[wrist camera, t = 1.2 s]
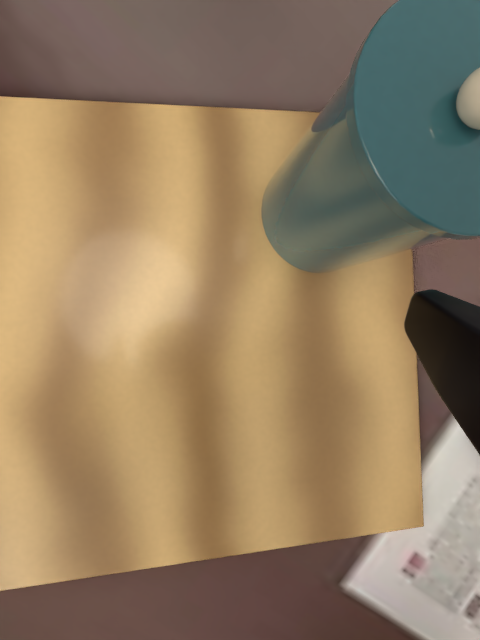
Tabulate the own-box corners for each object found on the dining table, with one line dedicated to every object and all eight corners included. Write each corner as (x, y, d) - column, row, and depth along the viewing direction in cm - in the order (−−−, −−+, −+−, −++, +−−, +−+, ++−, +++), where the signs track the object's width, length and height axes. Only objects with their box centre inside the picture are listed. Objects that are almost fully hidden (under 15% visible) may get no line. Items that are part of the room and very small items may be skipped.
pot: (398, 198, 24) (672, 55, 11) (338, 302, 23) (555, 279, 10) (298, 124, 23) (473, -130, 10) (232, 231, 22) (327, 108, 9)
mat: (401, 121, 24) (407, 116, 24) (418, 521, 25) (424, 526, 24) (-46, 99, 20) (-52, 92, 19) (-22, 587, 20) (-27, 595, 20)
